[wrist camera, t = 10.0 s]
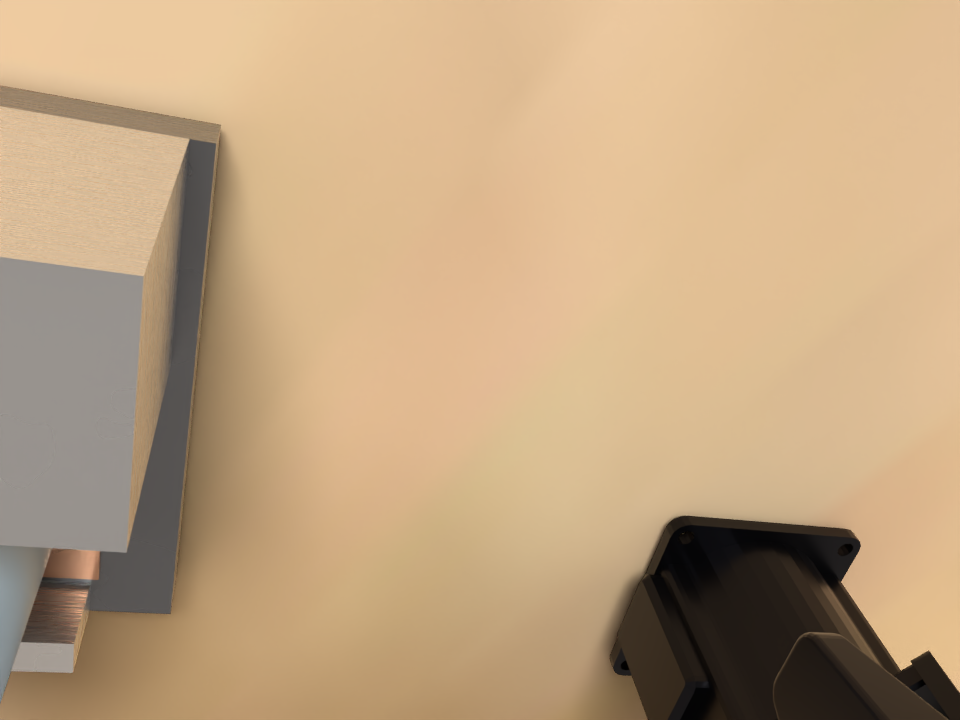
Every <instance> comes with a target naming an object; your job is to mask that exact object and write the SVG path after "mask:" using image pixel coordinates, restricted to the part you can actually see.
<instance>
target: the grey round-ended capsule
mask: <svg viewBox="0 0 960 720" xmlns="http://www.w3.org/2000/svg"><path fill="white" fill-rule="evenodd" d="M51 550H52V548H40V547H23V546H6V545H0V702H1V699H2V696H3V693H4V691H5V688H6V685H7V682H8V679H9V676H10V673H11V670H12V667H13V664H14V661H15V658H16V655H17V652H18V649H19V646H20V643H21V640H22V637H23V634H24V631H25V628H26V625H27V622H28V619H29V616H30V613H31V610H32V607H33V604H34V601H35V598H36V595H37V592H38V589H39V586H40V583H41V580H42V577H43V574H44V571H45V568H46V565H47V562H48V559H49V556H50V553H51Z"/></svg>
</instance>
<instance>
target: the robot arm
mask: <svg viewBox="0 0 960 720" xmlns="http://www.w3.org/2000/svg"><path fill="white" fill-rule="evenodd" d="M683 532H687V533H685V534H683V535H680V534H681V533H683ZM860 547H861V545H860V541H859V540H858V539H857V537H856V536H855V535H854V533H853V532H852V531H851V530H848V529H840V528H828V527H816V526H804V525H792V524H780V523H768V522H755V521H743V520H731V519H719V518H707V517H695V516H681V517H678V518H675V519H674V520H672V521H671V522H670V523H669V524H668V526H667V527H666V529H665V531H664V534H663V536H662V538H661V540H660V543H659V545H658V547H657V550H656V552H655V554H654V556H653V559H652V561H651V563H650V566H649V568H648V570H647V572H646V575H645V577H644V578H643V579H642V580H641V581H640V583H639V586H638V588H637V590H636V592H635V595H634V597H633V599H632V602H631V604H630V606H629V608H628V611H627V613H626V615H625V618H624V620H623V622H622V624H621V627H620V629H619V631H618V634H617V636H618V638H617V641H616V643H615V645H614V647H613V650H612V652H611V654H610V661H611V664H612V667H613V669H614V672H615V673H617V674H619V675H628V676H632V678H633V680H634V683H635V686H636V688H637V691H638V694H639V697H640V699H641V702H642V705H643V707H644V710H645V713H646V716H647V718H648V720H960V692H959V691H958V690H957V688H956V687H955V686H954V684H953V683H952V682H951V680H950V679H949V677H948V676H947V675H946V673H945V672H944V671H943V669H942V668H941V667H940V665H939V664H938V662H937V661H936V660H935V658H934V657H933V656H932V654H931V653H930V652H929V651H927V652H925V653H923V654H922V655H920V656H918V657H916V658H915V659H913V660H911V663H912V665H910V666H909V667H907V668H905V669H903V670H902V671H901V670H900V669H899V667H898V666H897V664H896V663H895V661H894V660H893V658H892V657H891V655H890V654H889V652H888V651H887V649H886V648H885V646H884V645H883V643H882V642H881V640H880V639H879V638H878V636H877V635H876V633H875V632H874V630H873V629H872V627H871V626H870V624H869V623H868V621H867V620H866V618H865V617H864V615H863V614H862V612H861V611H860V609H859V608H858V607H857V605H856V604H855V602H854V601H853V599H852V598H851V596H850V595H849V593H848V592H847V590H846V589H845V587H844V586H843V584H842V583H841V581H842V579H843V577H844V576H845V574H846V572H847V571H848V569H849V567H850V565H851V564H852V562H853V560H854V559H855V557H856V555H857V553H858V552H859V550H860Z"/></svg>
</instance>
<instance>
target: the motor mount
mask: <svg viewBox="0 0 960 720" xmlns="http://www.w3.org/2000/svg"><path fill="white" fill-rule="evenodd" d="M220 129H221V125H218V124H213V123H207V122H202V121H196V120H190V119H185V118H179V117H174V116H168V115H163V114H157V113H151V112H146V111H140V110H135V109H129V108H123V107H118V106H112V105H107V104H101V103H95V102H90V101H84V100H79V99H73V98H67V97H62V96H56V95H51V94H45V93H39V92H34V91H28V90H23V89H17V88H11V87H6V86H0V545H6V546H23V547H40V548H52V550H51V553H50V556H49V559H48V562H47V565H46V568H45V571H44V574H43V577H42V580H41V583H40V586H39V589H38V592H37V595H36V598H35V601H34V604H33V607H32V610H31V613H30V616H29V619H28V622H27V625H26V628H25V631H24V634H23V637H22V640H21V643H20V646H19V649H18V652H17V655H16V658H15V661H14V664H13V667H12V670H11V671H24V672H60V673H73V672H74V668H75V664H76V660H77V656H78V653H79V649H80V645H81V641H82V637H83V634H84V630H85V626H86V622H87V619H88V615H89V611H90V610H92V611H115V612H137V613H160V614H170V613H171V607H172V601H173V595H174V589H175V583H176V574H177V564H178V554H179V543H180V533H181V523H182V513H183V503H184V493H185V483H186V473H187V463H188V453H189V442H190V432H191V422H192V412H193V402H194V392H195V382H196V372H197V362H198V352H199V341H200V331H201V321H202V311H203V301H204V291H205V281H206V271H207V261H208V251H209V240H210V230H211V220H212V210H213V200H214V190H215V180H216V170H217V160H218V150H219V139H220Z"/></svg>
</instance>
